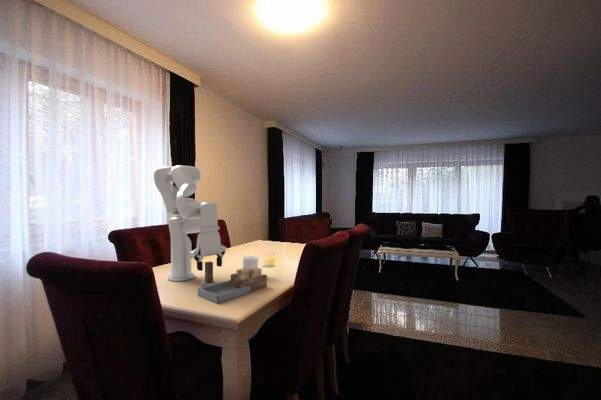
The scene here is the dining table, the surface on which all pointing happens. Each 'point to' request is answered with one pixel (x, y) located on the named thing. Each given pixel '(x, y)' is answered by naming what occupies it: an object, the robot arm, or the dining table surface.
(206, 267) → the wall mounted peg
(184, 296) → the dining table surface
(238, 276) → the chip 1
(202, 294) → the tray
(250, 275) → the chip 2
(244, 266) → the white cup
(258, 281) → the slot block
